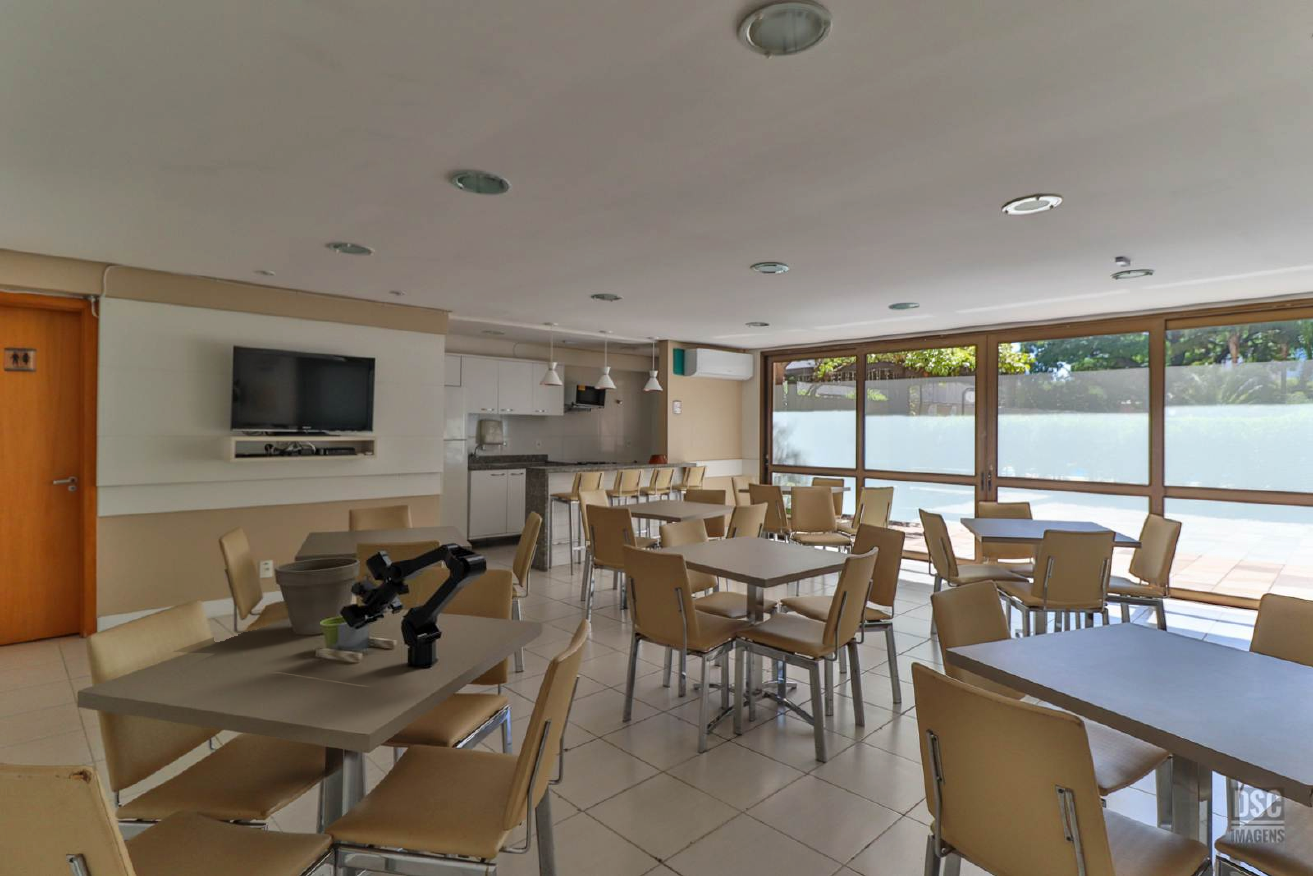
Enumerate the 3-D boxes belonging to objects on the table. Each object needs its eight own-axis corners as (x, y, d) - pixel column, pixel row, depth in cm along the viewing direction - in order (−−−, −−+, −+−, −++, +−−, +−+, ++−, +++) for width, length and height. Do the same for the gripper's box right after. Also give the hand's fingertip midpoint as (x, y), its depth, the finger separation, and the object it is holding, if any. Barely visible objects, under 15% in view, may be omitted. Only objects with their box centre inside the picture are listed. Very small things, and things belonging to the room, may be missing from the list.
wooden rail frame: (397, 648, 194) (397, 640, 194) (358, 663, 181) (358, 654, 181) (355, 643, 200) (355, 635, 200) (315, 657, 187) (315, 648, 187)
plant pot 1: (255, 638, 206) (256, 569, 206) (308, 618, 230) (308, 556, 230) (329, 641, 202) (329, 571, 202) (374, 620, 226) (374, 557, 227)
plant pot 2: (345, 655, 188) (345, 625, 188) (313, 655, 189) (313, 624, 189) (361, 645, 198) (361, 616, 198) (331, 645, 198) (331, 616, 198)
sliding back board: (369, 646, 195) (369, 616, 195) (342, 657, 186) (342, 625, 186) (359, 645, 197) (359, 615, 197) (332, 655, 187) (332, 623, 187)
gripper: (395, 566, 198) (366, 599, 202) (345, 577, 180) (315, 614, 184) (415, 594, 195) (386, 627, 199) (367, 608, 177) (336, 645, 181)
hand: (357, 628), depth 191 cm, fingers closed, pressing on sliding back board
